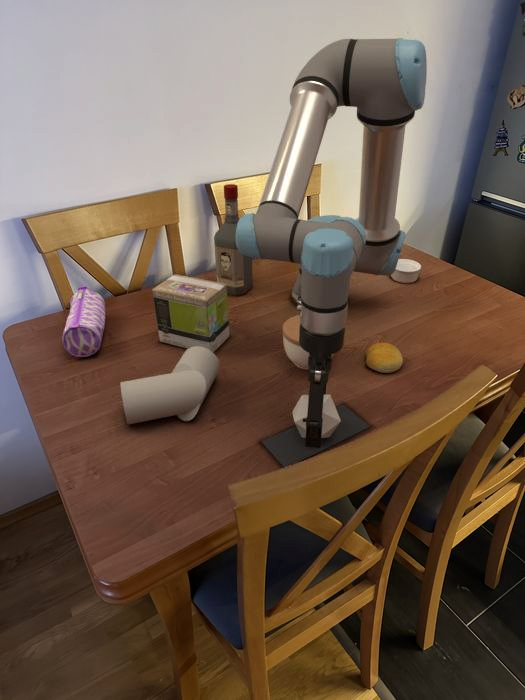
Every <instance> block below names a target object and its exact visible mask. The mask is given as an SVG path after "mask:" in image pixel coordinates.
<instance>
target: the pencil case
mask: <svg viewBox="0 0 525 700" xmlns="http://www.w3.org/2000/svg"><path fill="white" fill-rule="evenodd" d="M68 306H69V309H70V310H69V314H68V315H67V318H66V322H65V326H64V329H63V332H62V339H61V340H62V344H63V345H62V346H63V347H64V349H65V350H66V352H67V353H68V354H70V355H71V356H73V357H76V358H88V357H90V356H93V355H94V354H96V353H97V352H98V351H99V349H100V348H101V344H102V340H103V334H104V332H105V327H106V326H105V325H106V302H105V300H104V298H103V296H102V295H101V294H99V293H98V292H96V291H94V290H90V289H89V288H88V287H87V285H81V286H78V287H77V291H76V292H75V293H74V294H73V295H72V297H71V299H70V301H69V302H68Z"/></svg>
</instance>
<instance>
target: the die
mask: <svg viewBox="0 0 525 700" xmlns="http://www.w3.org/2000/svg"><path fill="white" fill-rule="evenodd" d="M308 399H309V394H302V395H301V396H300V397H299V399H298V400H297V403H296V405H295V407H294V408H293V410H292V418H293V422H294V424H295V426H297V429H298V431H299V433H300V435H301V437H302V438H306V422H303V418H306V419H307V412H308ZM322 418H323V423H322V435H321V438H327V437H330V436H331V434H332V433H333V432H334V430H335V429H336V427H337V426H338V424H339V423H340V422H341V420H340V418H339V415H338V413H337V410H336V405H335V402H334V400H333V397H332V395H331V394H326V395H324V400H323V412H322Z"/></svg>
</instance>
